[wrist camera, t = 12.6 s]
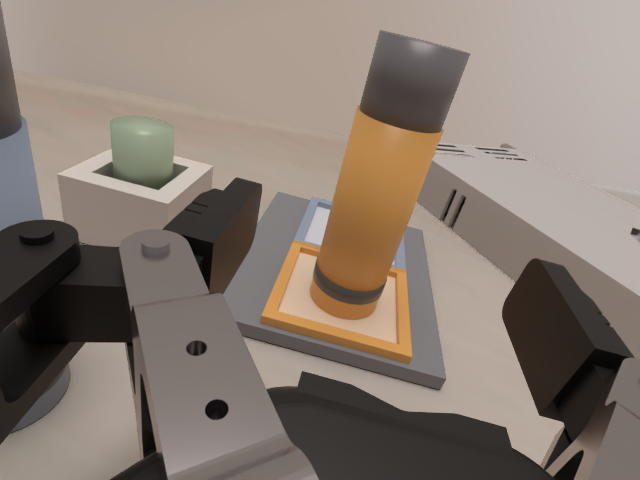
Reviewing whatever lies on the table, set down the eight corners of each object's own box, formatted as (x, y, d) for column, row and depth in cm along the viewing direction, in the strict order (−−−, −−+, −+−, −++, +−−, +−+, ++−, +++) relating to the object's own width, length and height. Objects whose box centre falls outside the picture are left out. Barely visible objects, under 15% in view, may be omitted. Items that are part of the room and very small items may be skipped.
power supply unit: (487, 177, 53) (504, 141, 51) (803, 367, 29) (865, 318, 27) (373, 172, 45) (386, 130, 42) (686, 437, 21) (760, 375, 18)
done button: (102, 200, 22) (96, 125, 20) (134, 180, 25) (131, 112, 23) (156, 215, 22) (155, 140, 20) (181, 193, 25) (184, 126, 23)
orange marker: (302, 308, 20) (374, 30, 14) (314, 267, 24) (377, 28, 17) (375, 328, 20) (483, 58, 13) (377, 284, 23) (464, 50, 17)
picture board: (200, 324, 19) (202, 304, 18) (276, 200, 32) (279, 186, 31) (439, 390, 19) (450, 372, 18) (418, 238, 32) (424, 225, 31)
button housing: (66, 238, 22) (57, 173, 20) (127, 197, 27) (124, 142, 25) (167, 266, 22) (168, 204, 20) (208, 219, 27) (213, 165, 25)
